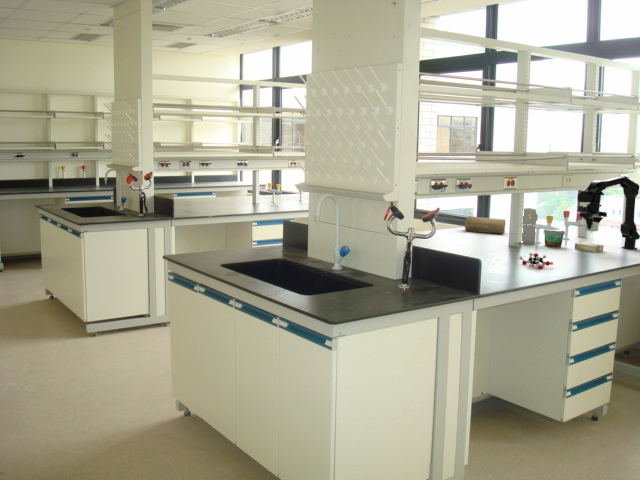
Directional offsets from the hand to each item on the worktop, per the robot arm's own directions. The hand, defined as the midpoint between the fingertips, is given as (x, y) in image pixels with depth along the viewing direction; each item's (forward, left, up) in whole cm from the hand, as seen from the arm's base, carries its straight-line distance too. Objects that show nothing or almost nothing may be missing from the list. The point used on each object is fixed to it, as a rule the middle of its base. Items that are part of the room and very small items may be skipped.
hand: (591, 229), depth 358 cm
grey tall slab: (+17, -32, -13) cm, 38 cm away
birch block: (+1, 0, -13) cm, 13 cm away
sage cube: (0, 0, -1) cm, 1 cm away
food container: (+12, -17, -13) cm, 24 cm away
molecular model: (+70, +17, -13) cm, 74 cm away
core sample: (+4, -76, -13) cm, 78 cm away
